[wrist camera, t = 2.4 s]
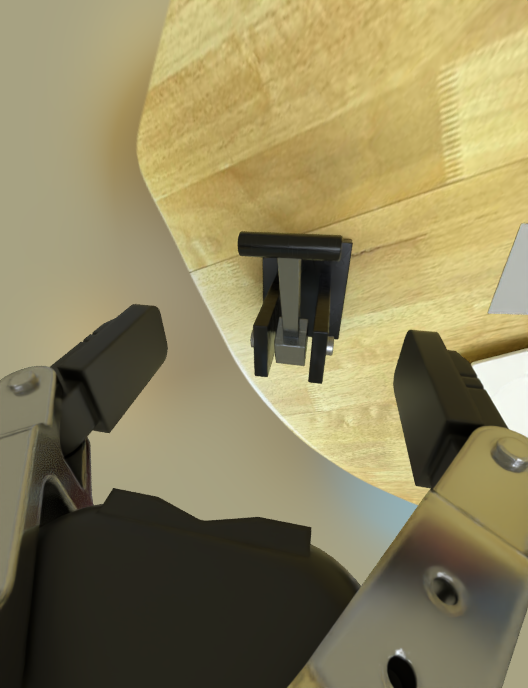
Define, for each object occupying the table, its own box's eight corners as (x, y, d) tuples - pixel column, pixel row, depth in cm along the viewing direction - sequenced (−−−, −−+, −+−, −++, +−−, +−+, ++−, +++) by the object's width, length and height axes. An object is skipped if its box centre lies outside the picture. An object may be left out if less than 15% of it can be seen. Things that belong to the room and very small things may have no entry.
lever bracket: (264, 235, 29) (228, 284, 19) (352, 239, 27) (359, 294, 18) (265, 327, 34) (237, 400, 25) (338, 333, 33) (338, 414, 23)
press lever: (243, 218, 16) (233, 251, 14) (343, 222, 15) (341, 256, 14) (263, 335, 25) (258, 361, 24) (325, 341, 24) (323, 368, 23)
